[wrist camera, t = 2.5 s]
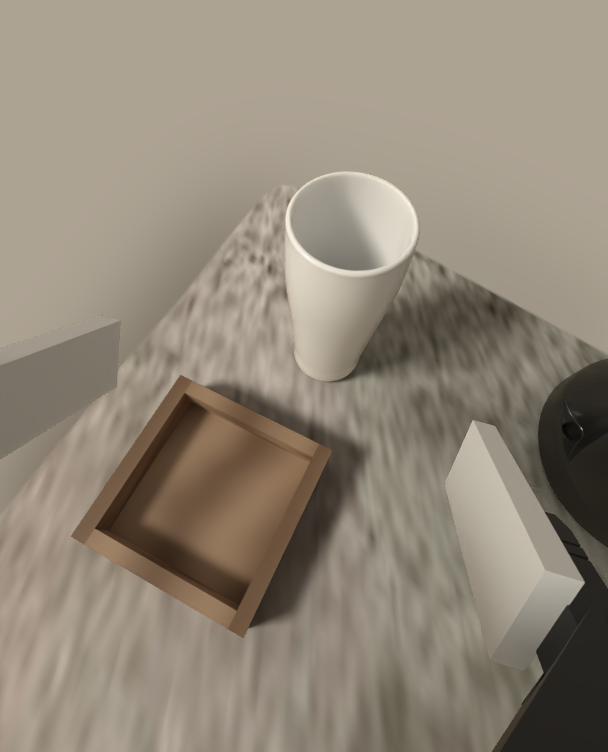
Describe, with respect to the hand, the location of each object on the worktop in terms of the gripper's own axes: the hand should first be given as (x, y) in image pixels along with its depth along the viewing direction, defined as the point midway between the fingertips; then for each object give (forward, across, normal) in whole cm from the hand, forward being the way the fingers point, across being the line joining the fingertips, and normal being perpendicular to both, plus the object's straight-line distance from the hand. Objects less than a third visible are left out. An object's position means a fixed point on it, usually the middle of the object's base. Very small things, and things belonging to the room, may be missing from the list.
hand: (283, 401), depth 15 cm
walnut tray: (+10, -4, -13) cm, 17 cm away
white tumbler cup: (+19, 0, -4) cm, 19 cm away
